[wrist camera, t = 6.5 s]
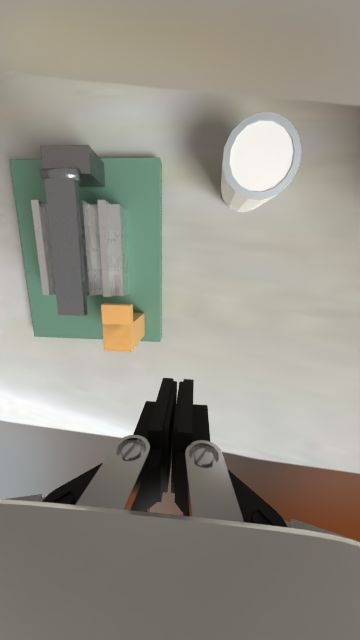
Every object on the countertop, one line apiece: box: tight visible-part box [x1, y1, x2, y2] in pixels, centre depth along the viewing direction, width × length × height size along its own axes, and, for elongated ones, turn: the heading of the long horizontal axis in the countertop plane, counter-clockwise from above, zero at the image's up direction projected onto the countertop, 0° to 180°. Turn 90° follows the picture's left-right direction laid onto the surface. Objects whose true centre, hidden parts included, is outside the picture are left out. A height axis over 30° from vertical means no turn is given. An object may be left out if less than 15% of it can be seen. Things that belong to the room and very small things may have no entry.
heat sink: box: [31, 145, 130, 297], centre depth 25 cm, size 10×15×4 cm, turn 179°
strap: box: [40, 168, 88, 316], centre depth 23 cm, size 15×4×1 cm, turn 179°
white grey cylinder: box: [221, 112, 302, 212], centre depth 22 cm, size 7×7×7 cm
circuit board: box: [9, 157, 162, 342], centre depth 28 cm, size 18×22×2 cm
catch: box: [101, 303, 145, 352], centre depth 25 cm, size 3×5×6 cm, turn 179°
